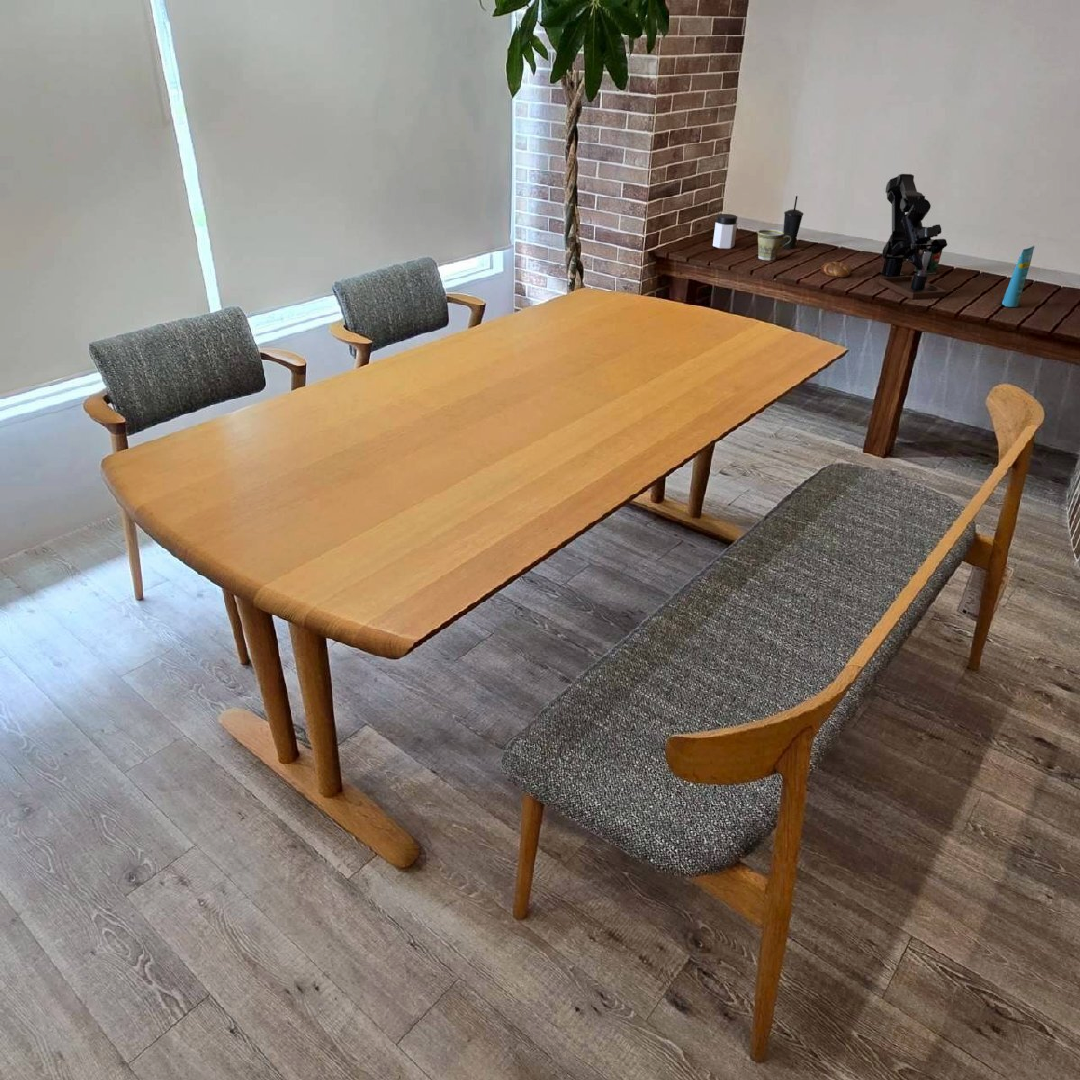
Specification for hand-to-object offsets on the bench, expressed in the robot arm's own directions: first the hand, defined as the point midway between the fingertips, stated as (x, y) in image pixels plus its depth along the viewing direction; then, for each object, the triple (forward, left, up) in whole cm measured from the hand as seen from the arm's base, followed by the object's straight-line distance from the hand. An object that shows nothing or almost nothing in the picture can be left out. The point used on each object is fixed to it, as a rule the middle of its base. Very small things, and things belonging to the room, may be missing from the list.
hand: (925, 269), depth 290 cm
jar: (-75, -40, -8) cm, 85 cm away
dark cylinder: (-2, 0, -7) cm, 7 cm away
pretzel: (-28, -16, -8) cm, 33 cm away
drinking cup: (-68, -14, -8) cm, 70 cm away
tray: (-4, 0, -8) cm, 9 cm away
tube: (+19, +22, -8) cm, 30 cm away
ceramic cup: (-53, -30, -8) cm, 61 cm away
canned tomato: (-24, +20, -8) cm, 33 cm away
